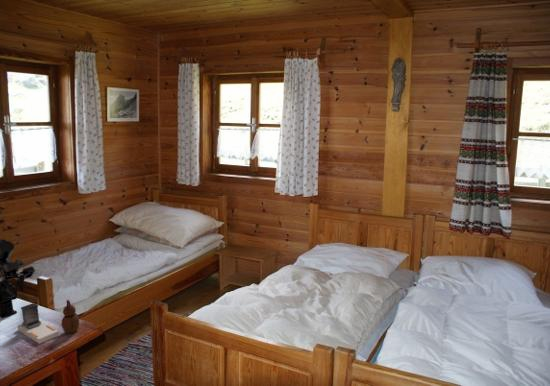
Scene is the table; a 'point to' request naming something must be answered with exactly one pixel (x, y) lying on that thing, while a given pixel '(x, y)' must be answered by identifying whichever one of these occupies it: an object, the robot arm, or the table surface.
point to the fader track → (39, 332)
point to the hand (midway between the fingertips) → (18, 294)
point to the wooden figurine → (70, 319)
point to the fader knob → (30, 315)
